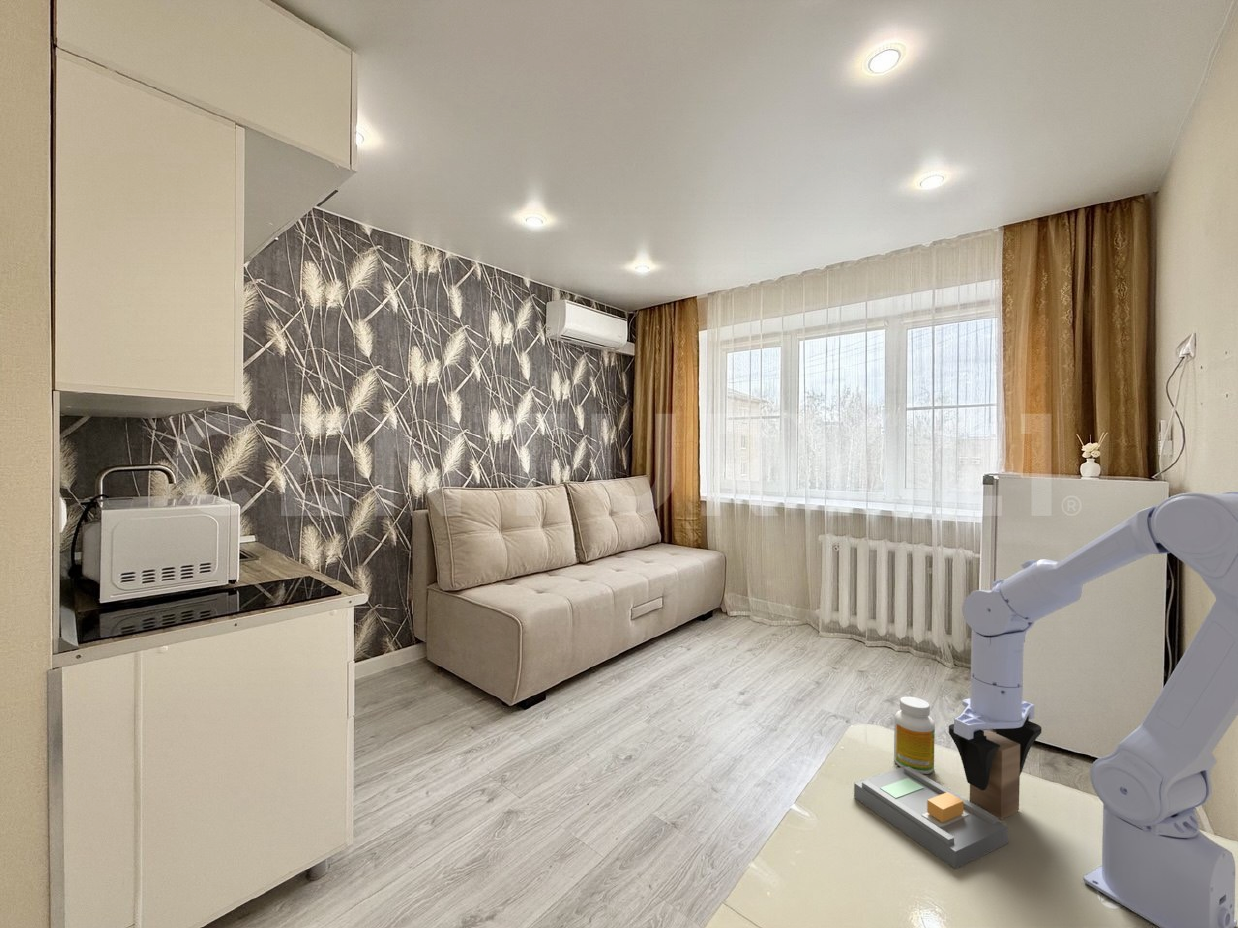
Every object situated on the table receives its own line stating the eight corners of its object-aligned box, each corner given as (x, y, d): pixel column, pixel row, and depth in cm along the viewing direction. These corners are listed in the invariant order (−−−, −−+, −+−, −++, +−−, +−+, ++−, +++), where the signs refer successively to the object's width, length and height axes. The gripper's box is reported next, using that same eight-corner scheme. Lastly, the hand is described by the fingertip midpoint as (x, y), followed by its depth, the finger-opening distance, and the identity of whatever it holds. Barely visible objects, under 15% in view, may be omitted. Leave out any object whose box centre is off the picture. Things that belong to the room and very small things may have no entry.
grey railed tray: (1007, 843, 65) (1008, 822, 64) (955, 868, 60) (955, 846, 60) (903, 779, 77) (903, 762, 77) (854, 797, 73) (854, 778, 73)
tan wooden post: (1019, 811, 71) (1020, 744, 71) (1000, 819, 69) (1002, 750, 69) (987, 793, 74) (988, 730, 74) (969, 801, 73) (970, 735, 72)
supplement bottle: (940, 777, 78) (941, 711, 78) (900, 772, 79) (901, 707, 79) (926, 757, 83) (927, 695, 83) (889, 753, 84) (890, 692, 84)
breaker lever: (963, 813, 66) (963, 800, 66) (942, 822, 65) (942, 809, 65) (947, 804, 68) (947, 791, 68) (927, 812, 67) (927, 799, 67)
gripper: (997, 660, 78) (995, 751, 78) (932, 676, 72) (930, 775, 72) (1052, 678, 72) (1050, 778, 72) (987, 697, 66) (984, 806, 66)
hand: (993, 778), depth 72 cm, fingers open, 7 cm apart
